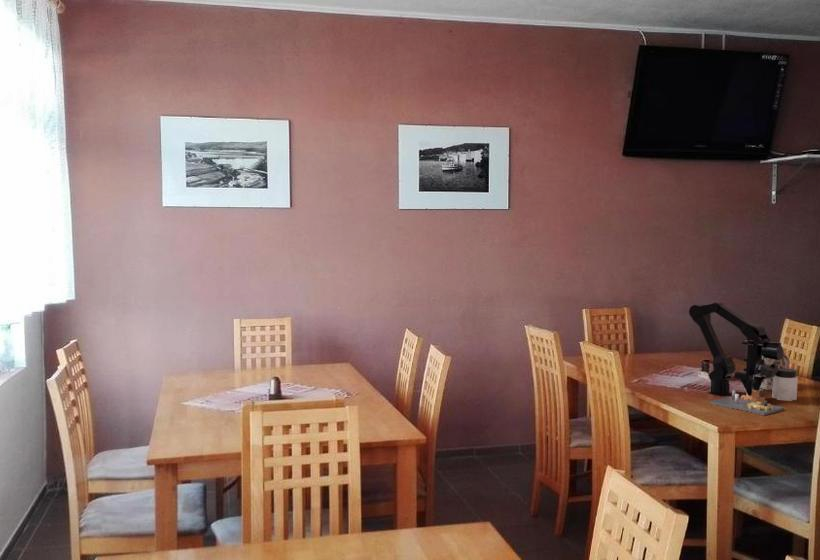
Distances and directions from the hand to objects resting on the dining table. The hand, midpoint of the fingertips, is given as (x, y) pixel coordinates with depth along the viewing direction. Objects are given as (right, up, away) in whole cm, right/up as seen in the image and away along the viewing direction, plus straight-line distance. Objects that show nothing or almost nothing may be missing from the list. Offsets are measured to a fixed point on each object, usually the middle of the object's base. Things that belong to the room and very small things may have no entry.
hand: (752, 394), depth 299 cm
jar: (+14, -2, +3) cm, 15 cm away
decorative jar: (+18, -1, +25) cm, 31 cm away
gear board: (-8, -3, -11) cm, 14 cm away
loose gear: (0, -2, 0) cm, 2 cm away
